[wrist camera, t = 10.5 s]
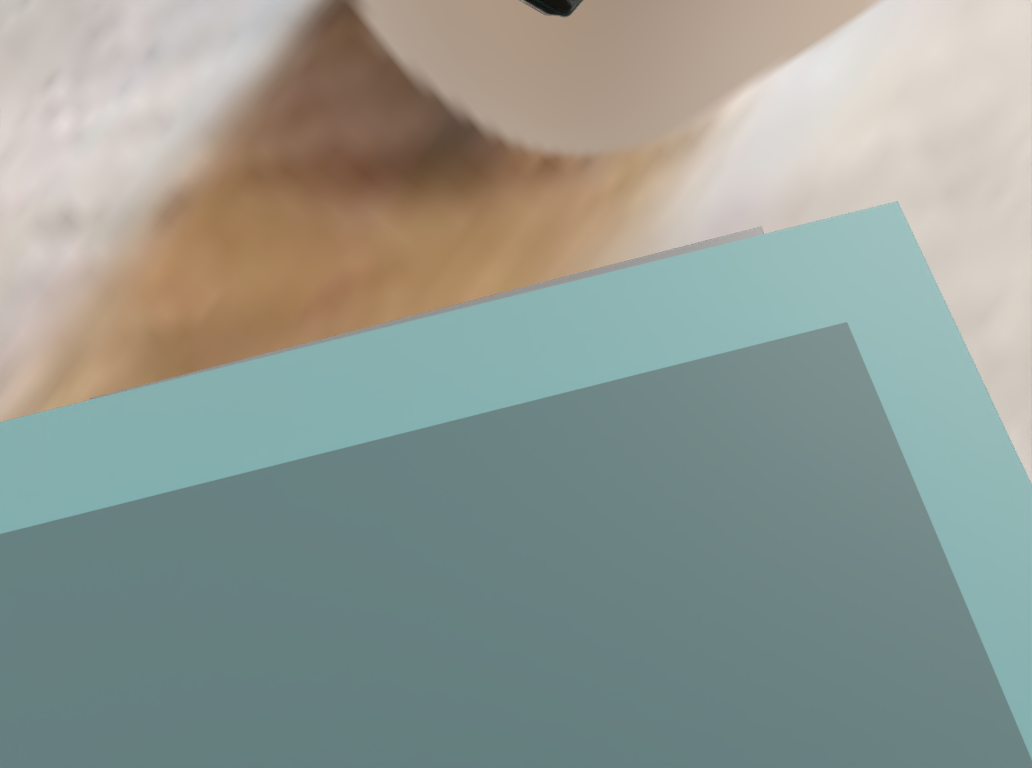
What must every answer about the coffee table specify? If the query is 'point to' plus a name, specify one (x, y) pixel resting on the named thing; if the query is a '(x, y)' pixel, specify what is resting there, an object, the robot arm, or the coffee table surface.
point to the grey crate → (503, 295)
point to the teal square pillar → (542, 536)
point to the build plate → (554, 6)
